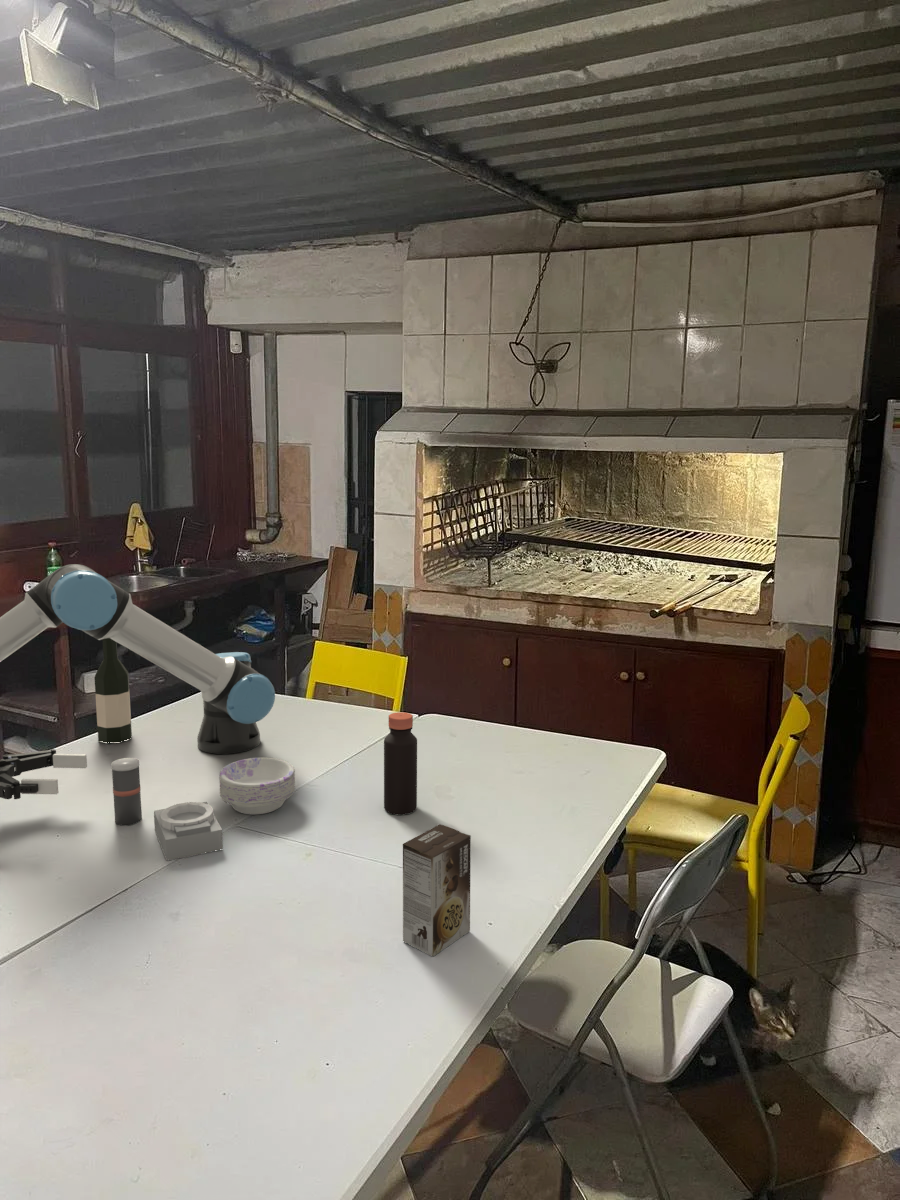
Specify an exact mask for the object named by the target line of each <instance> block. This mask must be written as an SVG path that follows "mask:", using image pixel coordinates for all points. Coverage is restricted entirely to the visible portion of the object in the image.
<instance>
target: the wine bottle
mask: <svg viewBox="0 0 900 1200" xmlns="http://www.w3.org/2000/svg"><path fill="white" fill-rule="evenodd" d="M101 641H102V651H103V654H102V656H103V659H102V661H101V663H100V665H99V667H98V669H97V671H96V673H95V675H94V691H95V694H94V695H95V706H96V707H95V710H96V723H97V724H96V727H97V739H98V740H97V741H103V742H107V743H108V742H109V743H110V742H121V741H124V740H127V739H130V738H131V739H132V737H133V732H132V716H131V713H132V712H131V699H130V697H131V696H130V693H131V692H130V678H129V676H130V675H129V674H130V673H129V671H128V670H127V668H126V667H125V665H124V664H123V662H122V661H121V660H120V659H119V657H118V642H116V641H114V640H112V639H111V638H106V639H102V640H101ZM131 736H132V737H131Z"/></svg>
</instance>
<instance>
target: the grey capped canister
mask: <svg viewBox="0 0 900 1200" xmlns="http://www.w3.org/2000/svg"><path fill="white" fill-rule="evenodd" d="M110 766H111V767H110V769H111V774H112V775H111V776H112V778H111V779H112V795H113V808H114V810H113V811H114V823H115V824H116V825H119V826H131V825H135V824H139V822H141V821H142V819H143V817H142V798H141V797H142V795H141V789H142V788H141V779H140V759H138V758H135V757H123V758H118V759H115V760H113V761H112V762H111V763H110Z"/></svg>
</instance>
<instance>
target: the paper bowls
mask: <svg viewBox="0 0 900 1200" xmlns="http://www.w3.org/2000/svg"><path fill="white" fill-rule="evenodd" d="M295 772H296V769H295V767H294V766H293V764H292V763H290V762H289V761H286V760H284V759H281V758H277V757H276V758H275V757H263V756H261V757H249V758H244V759H239V760H237V761H232V762H230V763H228V764H227V765H225V766H223V767H222V769H221V770H220V771H219V774H218V775H219V777H218V779H219V794H220V795H219V796H220V798H221V799H222V801H223V802H224V803H226V804H228V805H231V807H232V808H233V809H234V810H235V811H236V812H237V813H238V812H239V813H240V814H244V815H253V816H254V815H264V814H268V813H271V812H274V811H277V810H278V809H279V808H281V807H282V806H283V804H284V803H285V800H287V799H289V798H291V796H292V795H294V794H295V791H296V774H295Z"/></svg>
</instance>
